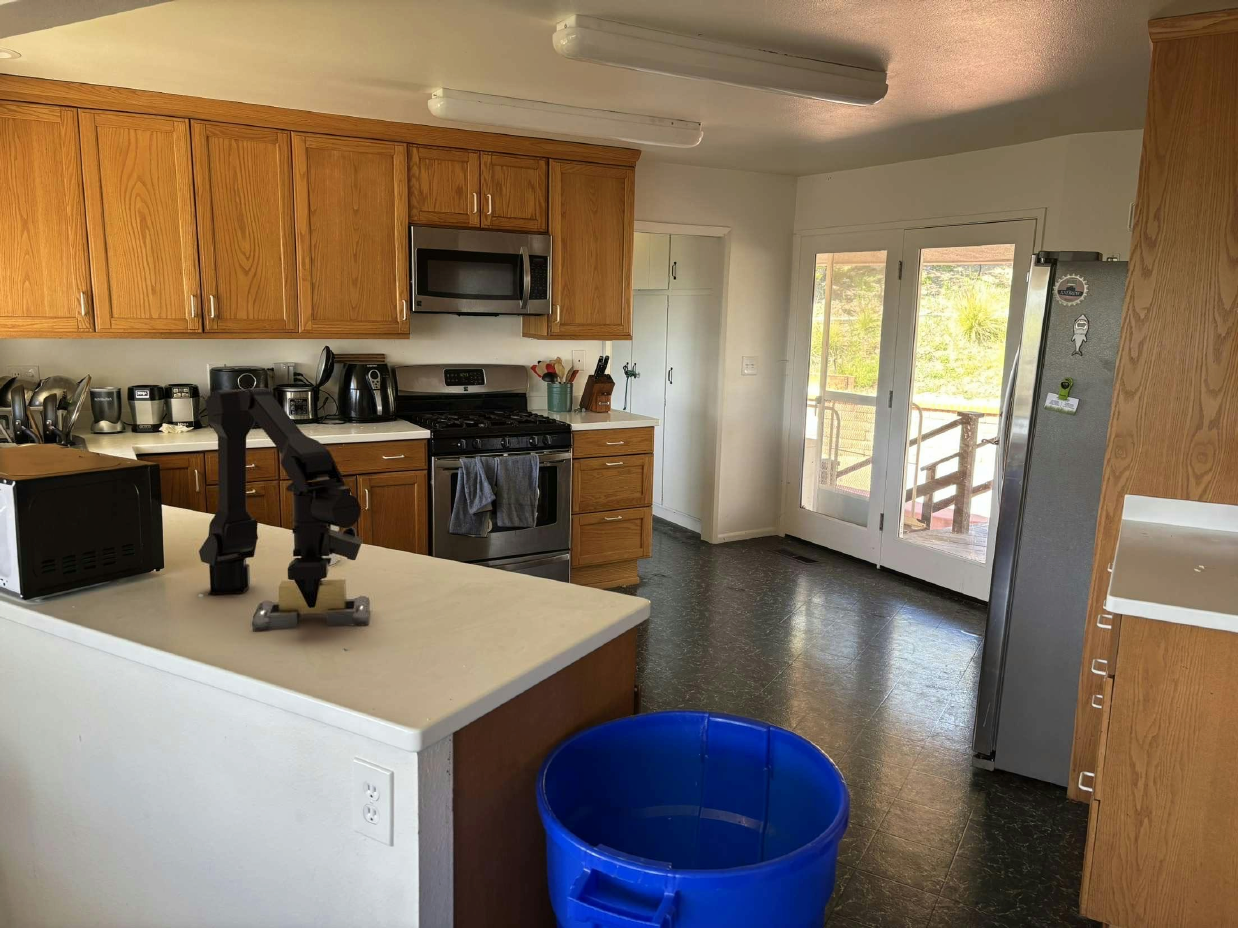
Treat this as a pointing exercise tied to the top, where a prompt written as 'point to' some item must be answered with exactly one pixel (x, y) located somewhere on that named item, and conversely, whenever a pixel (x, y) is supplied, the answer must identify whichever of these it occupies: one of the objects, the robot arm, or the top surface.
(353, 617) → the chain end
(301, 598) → the gold ingot
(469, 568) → the top surface
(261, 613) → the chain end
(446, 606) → the top surface
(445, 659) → the top surface
